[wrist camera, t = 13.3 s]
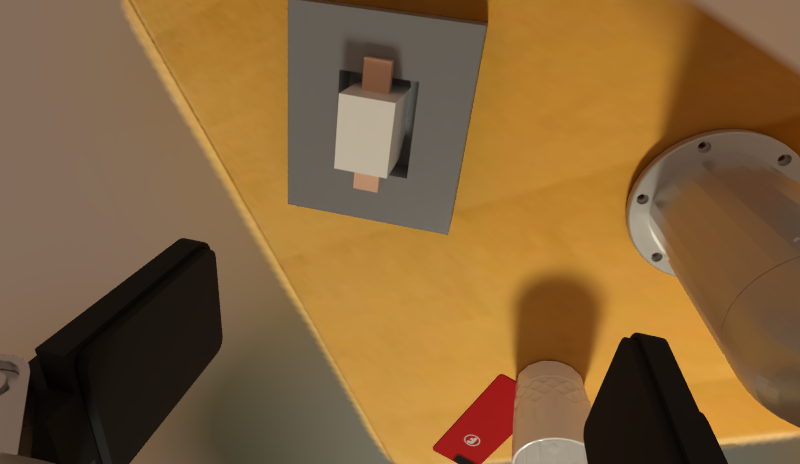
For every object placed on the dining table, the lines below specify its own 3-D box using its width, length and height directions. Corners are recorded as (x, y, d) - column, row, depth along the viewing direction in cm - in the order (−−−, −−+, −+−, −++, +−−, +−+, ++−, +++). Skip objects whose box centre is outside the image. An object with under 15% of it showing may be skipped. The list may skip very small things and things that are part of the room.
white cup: (596, 407, 49) (616, 498, 40) (521, 416, 52) (524, 503, 43) (580, 349, 46) (598, 433, 38) (501, 361, 49) (500, 442, 40)
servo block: (415, 57, 36) (399, 68, 31) (398, 178, 41) (383, 206, 36) (364, 49, 37) (341, 58, 31) (354, 169, 41) (332, 195, 36)
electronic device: (500, 370, 50) (432, 445, 57) (500, 374, 49) (431, 449, 57) (547, 396, 50) (473, 468, 57) (548, 400, 50) (473, 472, 57)
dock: (488, 22, 35) (486, 26, 32) (452, 215, 42) (448, 234, 39) (308, -3, 37) (288, -2, 33) (304, 187, 44) (287, 203, 41)
